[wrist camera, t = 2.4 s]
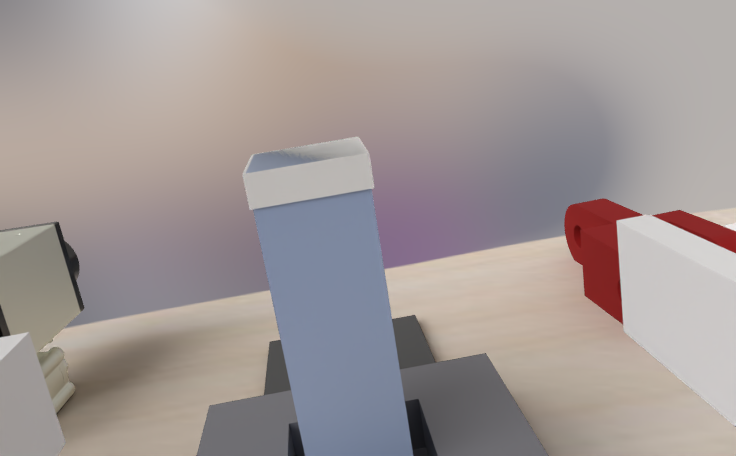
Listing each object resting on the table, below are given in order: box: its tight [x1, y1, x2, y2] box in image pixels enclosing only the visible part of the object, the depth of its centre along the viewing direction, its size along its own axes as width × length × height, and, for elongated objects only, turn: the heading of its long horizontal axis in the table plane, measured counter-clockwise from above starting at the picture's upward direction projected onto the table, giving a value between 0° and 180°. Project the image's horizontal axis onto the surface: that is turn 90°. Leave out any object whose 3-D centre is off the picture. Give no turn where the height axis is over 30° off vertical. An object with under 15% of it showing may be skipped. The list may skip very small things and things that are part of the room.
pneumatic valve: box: [0, 222, 84, 414], centre depth 39 cm, size 6×12×12 cm, turn 0°
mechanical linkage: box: [565, 199, 736, 324], centre depth 45 cm, size 16×7×5 cm, turn 9°
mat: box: [264, 315, 435, 395], centre depth 39 cm, size 10×10×1 cm
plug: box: [243, 137, 413, 456], centre depth 25 cm, size 4×4×15 cm
